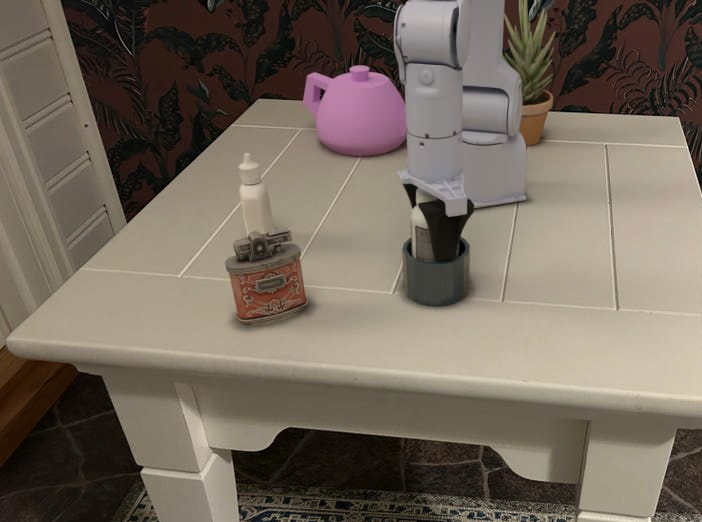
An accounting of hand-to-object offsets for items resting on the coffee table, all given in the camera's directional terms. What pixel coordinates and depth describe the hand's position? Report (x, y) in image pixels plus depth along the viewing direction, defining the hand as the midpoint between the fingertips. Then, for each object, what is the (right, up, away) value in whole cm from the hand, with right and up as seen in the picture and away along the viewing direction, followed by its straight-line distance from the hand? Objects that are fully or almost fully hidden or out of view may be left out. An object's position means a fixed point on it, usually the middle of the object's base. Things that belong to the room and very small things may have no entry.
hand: (436, 246), depth 83 cm
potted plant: (+14, +24, +41) cm, 49 cm away
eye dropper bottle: (-23, +2, +12) cm, 26 cm away
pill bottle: (0, -2, +2) cm, 3 cm away
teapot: (-13, +24, +40) cm, 48 cm away
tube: (0, -4, +3) cm, 6 cm away
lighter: (-18, -8, -1) cm, 20 cm away
